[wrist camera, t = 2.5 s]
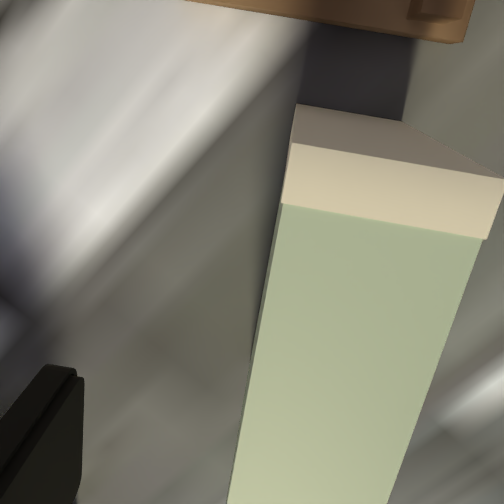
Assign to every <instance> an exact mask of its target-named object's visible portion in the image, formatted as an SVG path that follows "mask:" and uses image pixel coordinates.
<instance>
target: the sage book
mask: <svg viewBox="0 0 504 504" xmlns="http://www.w3.org/2000/svg"><path fill="white" fill-rule="evenodd" d="M503 193H504V177H502V176H500V175H498V174H496V173H495V172H493V171H491V170H489V169H487V168H485V167H484V166H482V165H480V164H478V163H476V162H475V161H473V160H471V159H469V158H467V157H465V156H464V155H462V154H460V153H458V152H456V151H455V150H453V149H451V148H449V147H447V146H445V145H444V144H442V143H440V142H438V141H436V140H435V139H433V138H431V137H429V136H427V135H425V134H424V133H422V132H420V131H418V130H416V129H414V128H413V127H411V126H409V125H407V124H405V123H404V122H402V121H396V120H390V119H384V118H379V117H373V116H367V115H361V114H355V113H349V112H343V111H338V110H332V109H326V108H320V107H314V106H308V105H302V104H297V103H296V108H295V113H294V119H293V124H292V130H291V135H290V142H289V149H288V156H287V163H286V169H285V175H284V180H283V186H282V191H281V196H280V202H279V207H278V213H277V218H276V224H275V229H274V234H273V240H272V245H271V251H270V256H269V262H268V267H267V272H266V278H265V283H264V289H263V294H262V300H261V305H260V311H259V316H258V321H257V327H256V332H255V338H254V343H253V349H252V354H251V359H250V365H249V371H248V377H247V383H246V388H245V394H244V400H243V406H242V412H241V418H240V424H239V429H238V435H237V441H236V447H235V453H234V459H233V465H232V471H231V476H230V482H229V488H228V494H227V500H226V504H387V502H388V499H389V496H390V494H391V491H392V488H393V485H394V483H395V480H396V477H397V474H398V472H399V469H400V466H401V463H402V461H403V458H404V455H405V452H406V449H407V447H408V444H409V441H410V438H411V436H412V433H413V430H414V427H415V425H416V422H417V419H418V416H419V414H420V411H421V408H422V405H423V403H424V400H425V397H426V394H427V392H428V389H429V386H430V383H431V381H432V378H433V375H434V372H435V370H436V367H437V364H438V361H439V359H440V356H441V353H442V350H443V348H444V345H445V342H446V339H447V337H448V334H449V331H450V328H451V326H452V323H453V320H454V317H455V314H456V312H457V309H458V306H459V303H460V301H461V298H462V295H463V292H464V290H465V287H466V284H467V281H468V279H469V276H470V273H471V270H472V268H473V265H474V262H475V259H476V257H477V254H478V251H479V248H480V246H481V243H482V240H483V239H487V237H488V234H489V232H490V229H491V226H492V224H493V221H494V218H495V215H496V213H497V210H498V207H499V204H500V202H501V199H502V196H503Z"/></svg>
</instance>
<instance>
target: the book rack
mask: <svg viewBox="0 0 504 504" xmlns="http://www.w3.org/2000/svg"><path fill="white" fill-rule="evenodd" d="M186 1H192V2H198V3H204V4H210V5H216V6H223V7H229V8H235V9H241V10H247V11H253V12H259V13H265V14H271V15H277V16H283V17H289V18H295V19H301V20H307V21H313V22H319V23H325V24H331V25H337V26H344V27H350V28H356V29H362V30H368V31H374V32H380V33H386V34H392V35H398V36H404V37H410V38H416V39H422V40H428V41H434V42H440V43H446V44H453V43H459V42H463V40H464V37H465V33H466V30H467V27H468V23H469V20H470V16H471V13H472V10H473V6H474V3H475V0H186Z"/></svg>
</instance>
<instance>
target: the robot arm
mask: <svg viewBox="0 0 504 504" xmlns="http://www.w3.org/2000/svg"><path fill="white" fill-rule="evenodd" d="M83 415H84V378H83V377H78V376H77V372H76V369H74V368H69V367H63V366H57V365H51V364H47V365H45V366H44V367H43V368H42V369H41V370H40V371H39V373H38V374H37V375H36V376H35V378H34V379H33V380H32V381H31V383H30V384H29V385H28V386H27V388H26V389H25V390H24V391H23V393H22V394H21V395H20V396H19V397H18V399H17V400H16V401H15V402H14V404H13V405H12V406H11V407H10V409H9V410H8V411H7V412H6V414H5V415H4V416H3V417H2V419H1V420H0V504H72V502H73V500H74V498H75V496H76V494H77V491H78V488H79V485H80V481H81V475H82V446H83Z"/></svg>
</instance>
